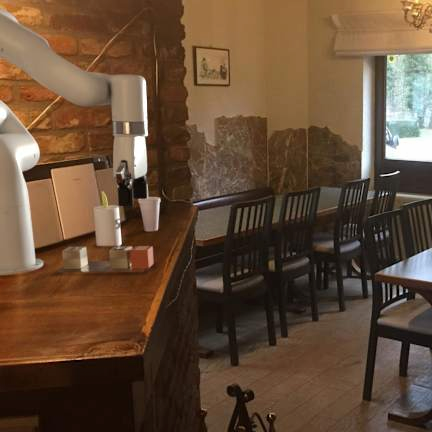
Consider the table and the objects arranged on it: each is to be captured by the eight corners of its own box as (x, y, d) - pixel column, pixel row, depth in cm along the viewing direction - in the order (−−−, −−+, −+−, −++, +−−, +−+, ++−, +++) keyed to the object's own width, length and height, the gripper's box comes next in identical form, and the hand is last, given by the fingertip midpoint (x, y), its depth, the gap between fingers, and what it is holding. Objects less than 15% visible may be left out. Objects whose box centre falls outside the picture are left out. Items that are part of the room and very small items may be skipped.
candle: (113, 248, 168) (109, 193, 165) (91, 247, 169) (86, 192, 166) (126, 242, 174) (122, 189, 171) (105, 241, 175) (100, 188, 172)
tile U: (110, 268, 148) (109, 250, 147) (116, 263, 152) (115, 245, 151) (127, 268, 148) (126, 250, 147) (133, 263, 152) (132, 245, 151)
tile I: (63, 269, 147) (61, 250, 146) (70, 264, 151) (69, 246, 150) (81, 268, 147) (79, 250, 146) (87, 264, 151) (86, 246, 150)
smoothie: (140, 228, 192) (137, 183, 189) (162, 227, 194) (160, 182, 191) (139, 233, 186) (136, 186, 183) (162, 231, 188) (159, 185, 185)
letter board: (55, 274, 145) (55, 272, 145) (72, 263, 153) (71, 261, 153) (142, 273, 146) (142, 271, 146) (153, 263, 155) (153, 260, 155)
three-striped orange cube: (131, 268, 148) (130, 250, 147) (136, 263, 152) (135, 245, 151) (148, 268, 148) (147, 249, 147) (153, 263, 152) (152, 245, 151)
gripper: (126, 126, 153) (129, 195, 157) (98, 131, 136) (103, 208, 140) (158, 127, 154) (160, 196, 157) (134, 132, 137) (137, 209, 140)
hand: (133, 202), depth 148 cm, fingers open, 9 cm apart
